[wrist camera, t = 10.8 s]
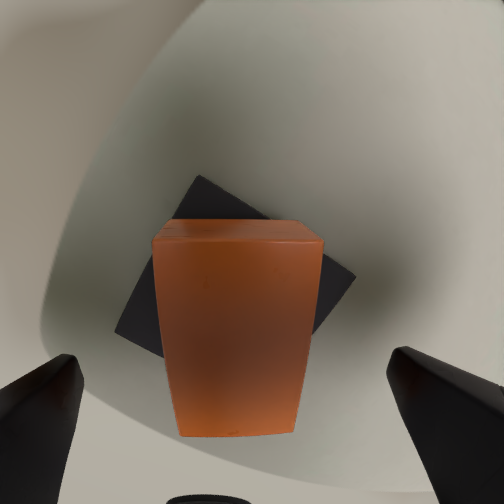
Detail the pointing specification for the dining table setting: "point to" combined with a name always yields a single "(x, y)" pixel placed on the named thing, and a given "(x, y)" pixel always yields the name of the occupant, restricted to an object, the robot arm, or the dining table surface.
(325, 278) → the mat
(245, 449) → the dining table surface
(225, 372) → the orange block
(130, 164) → the dining table surface
